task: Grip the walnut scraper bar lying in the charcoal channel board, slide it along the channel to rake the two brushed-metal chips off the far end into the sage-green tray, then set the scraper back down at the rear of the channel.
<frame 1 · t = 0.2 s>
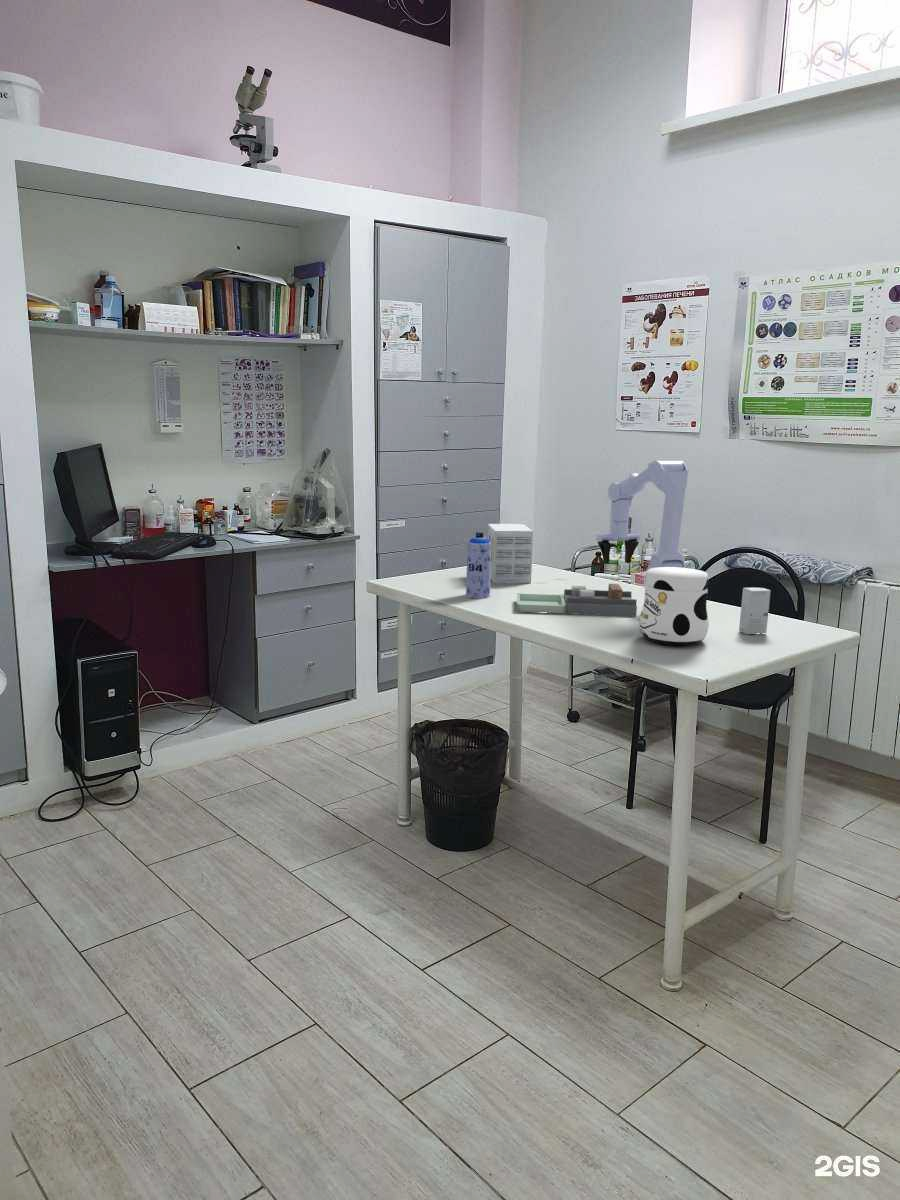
hand: (616, 563, 290), 10 cm above the table, tool pointing down, fingers open, 7 cm apart
chip far: (578, 592, 271), point 4 cm above the table, touching channel board
aerosol can: (477, 596, 285), on the table
supplement box: (508, 579, 314), on the table
milk container: (672, 641, 235), on the table
skincare box: (752, 633, 245), on the table
chip tray: (540, 607, 270), on the table
chip near: (586, 595, 266), point 4 cm above the table, touching channel board
scraper bar: (614, 599, 268), point 3 cm above the table, touching channel board
channel board: (598, 609, 269), on the table
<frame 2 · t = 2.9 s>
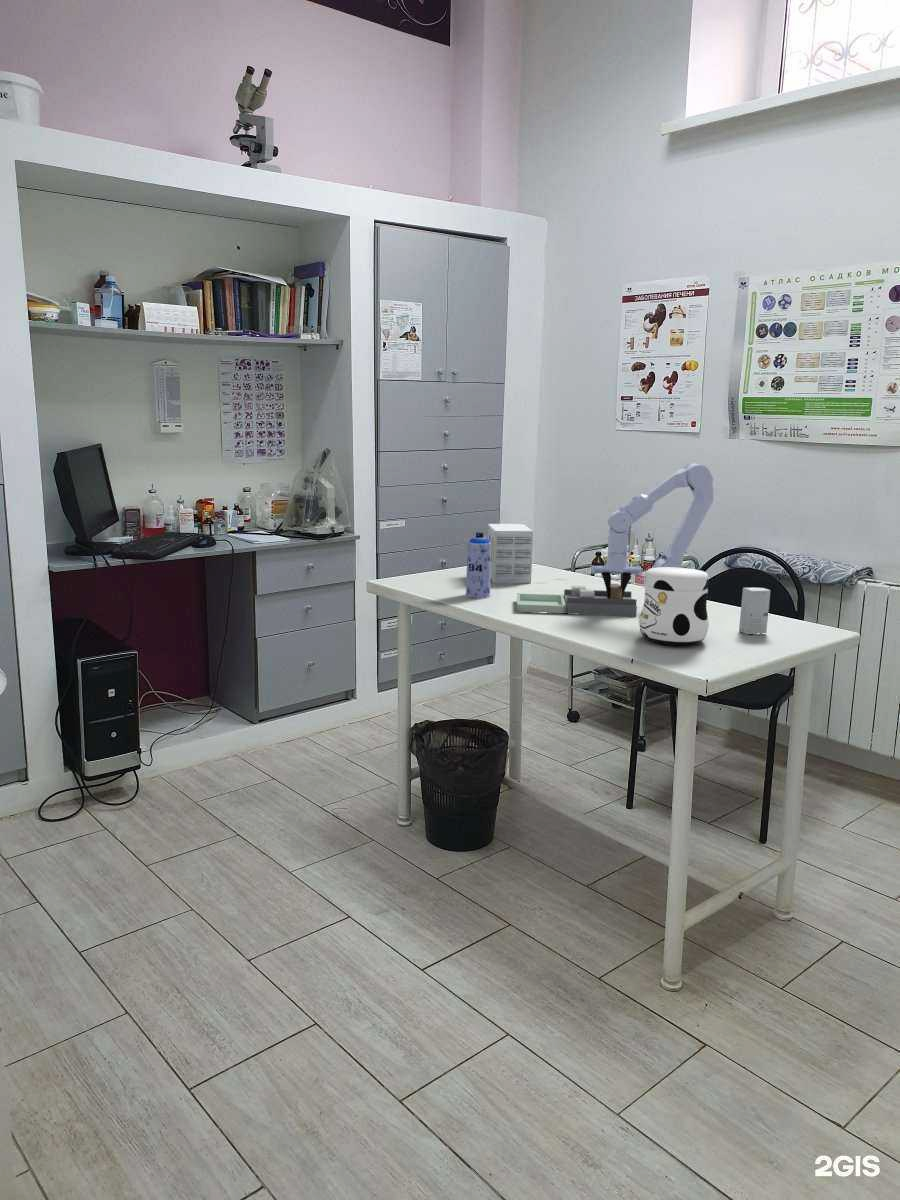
hand: (614, 597, 268), 4 cm above the table, tool pointing down, fingers closed on scraper bar, 3 cm apart
scraper bar: (614, 599, 268), point 3 cm above the table, touching channel board, gripper
everything else where it was.
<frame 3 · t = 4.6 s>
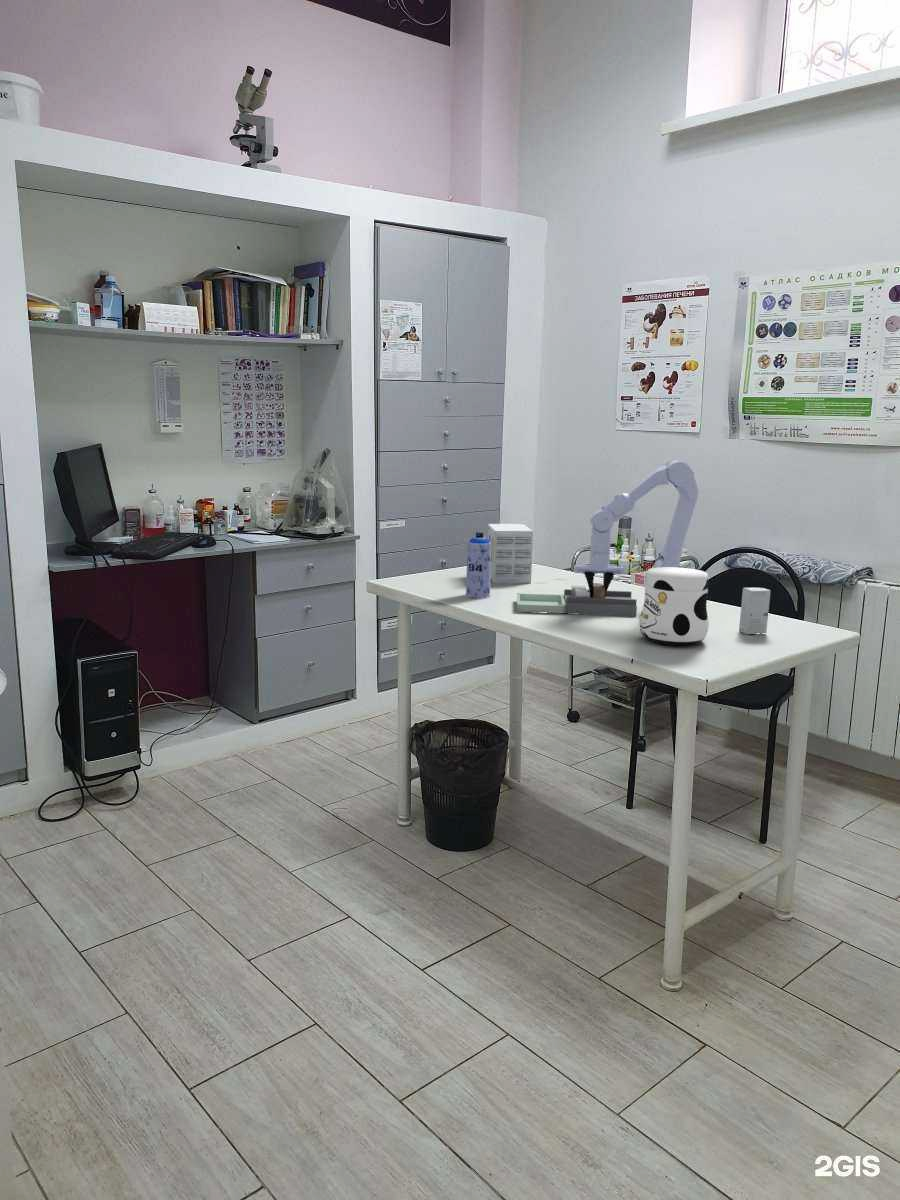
hand: (597, 597, 269), 4 cm above the table, tool pointing down, fingers closed on scraper bar, 3 cm apart
chip near: (582, 595, 266), point 5 cm above the table, touching channel board, gripper
scraper bar: (597, 599, 269), point 3 cm above the table, touching gripper
everything else where it was.
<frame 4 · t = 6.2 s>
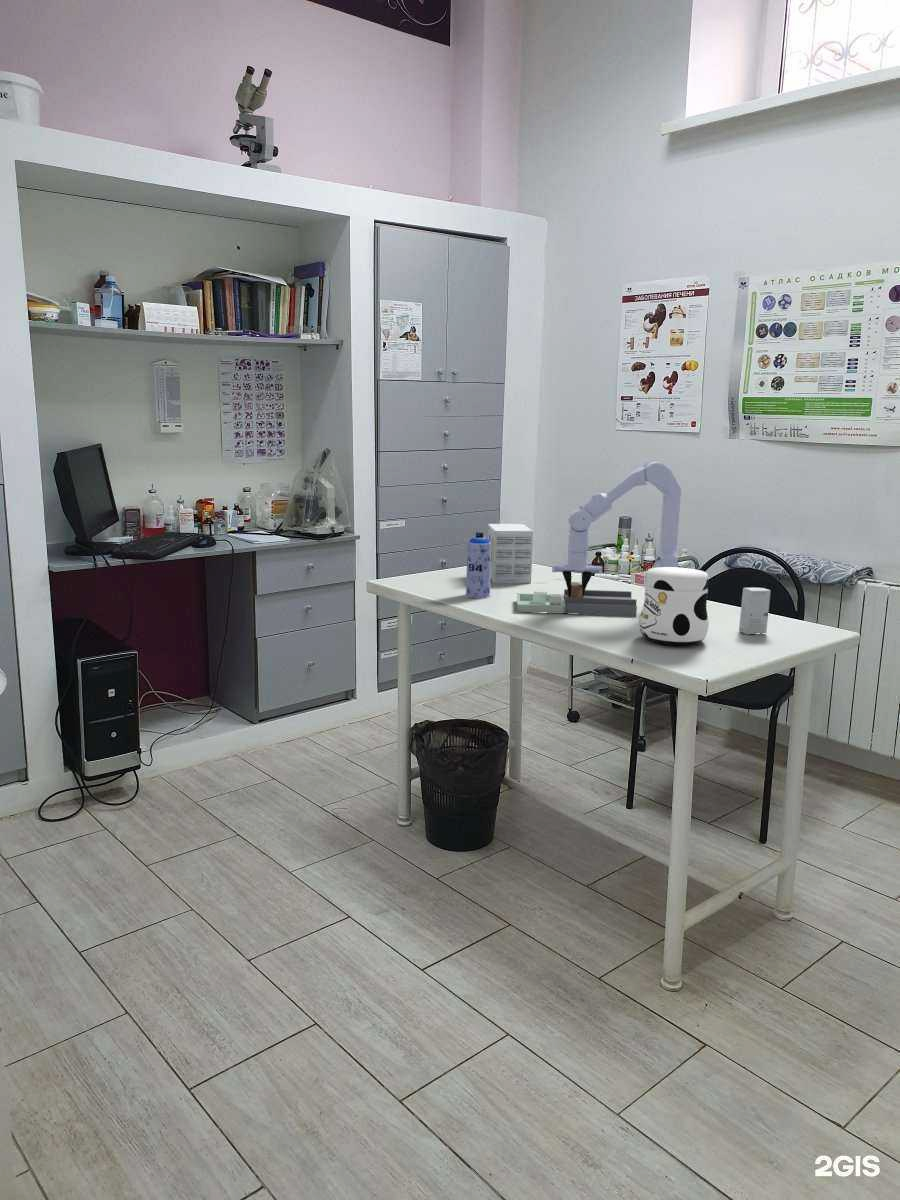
hand: (575, 596, 269), 4 cm above the table, tool pointing down, fingers closed on scraper bar, 3 cm apart
chip far: (539, 598, 274), point 2 cm above the table, tilted 180°, touching chip tray
chip near: (554, 602, 266), point 2 cm above the table, tilted 90°, touching chip tray
scraper bar: (575, 598, 269), point 3 cm above the table, touching gripper
everything else where it was.
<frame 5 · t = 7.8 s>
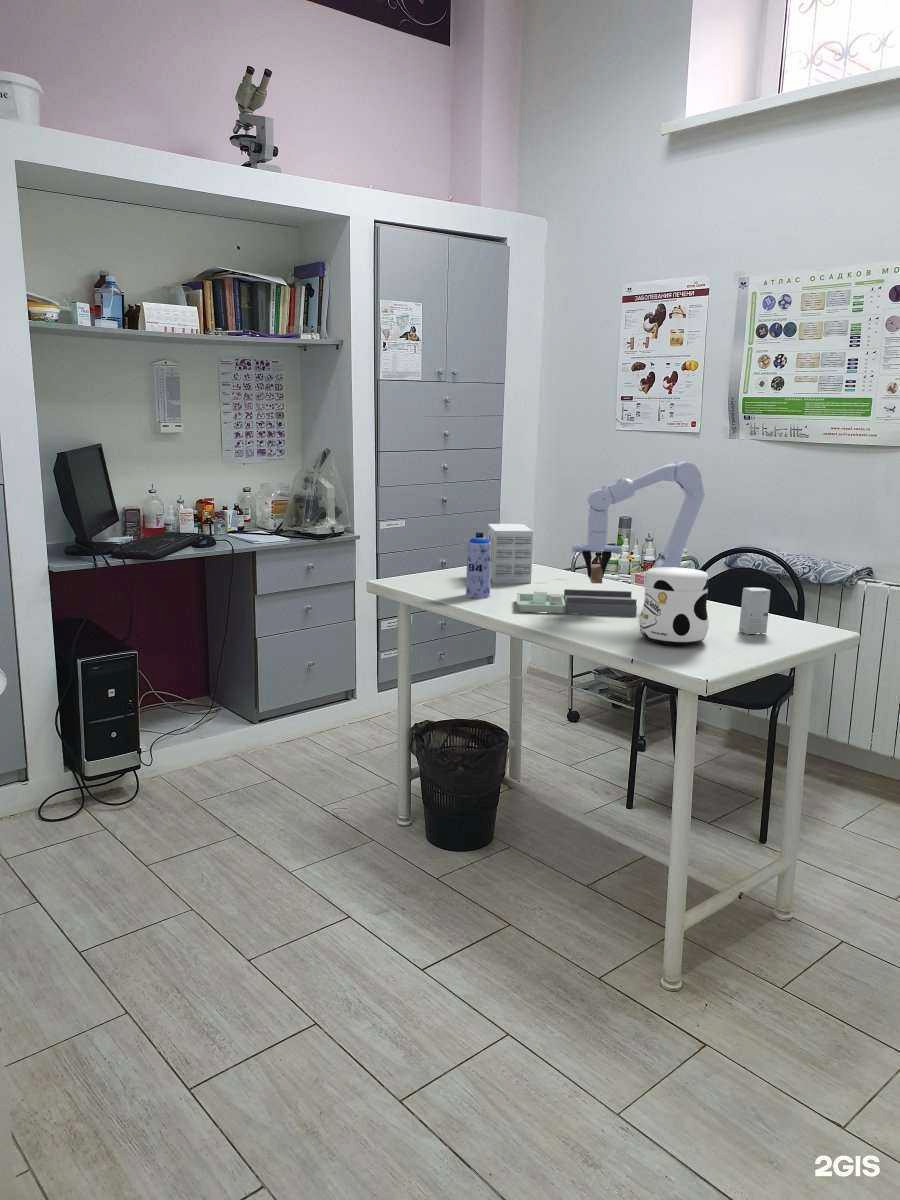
hand: (595, 576, 267), 10 cm above the table, tool pointing down, fingers closed on scraper bar, 3 cm apart
scraper bar: (595, 580, 267), point 9 cm above the table, touching gripper
everything else where it was.
when the fingers open (5 cm above the table, at t = 9.7 s): scraper bar stays where it is, resting on channel board.
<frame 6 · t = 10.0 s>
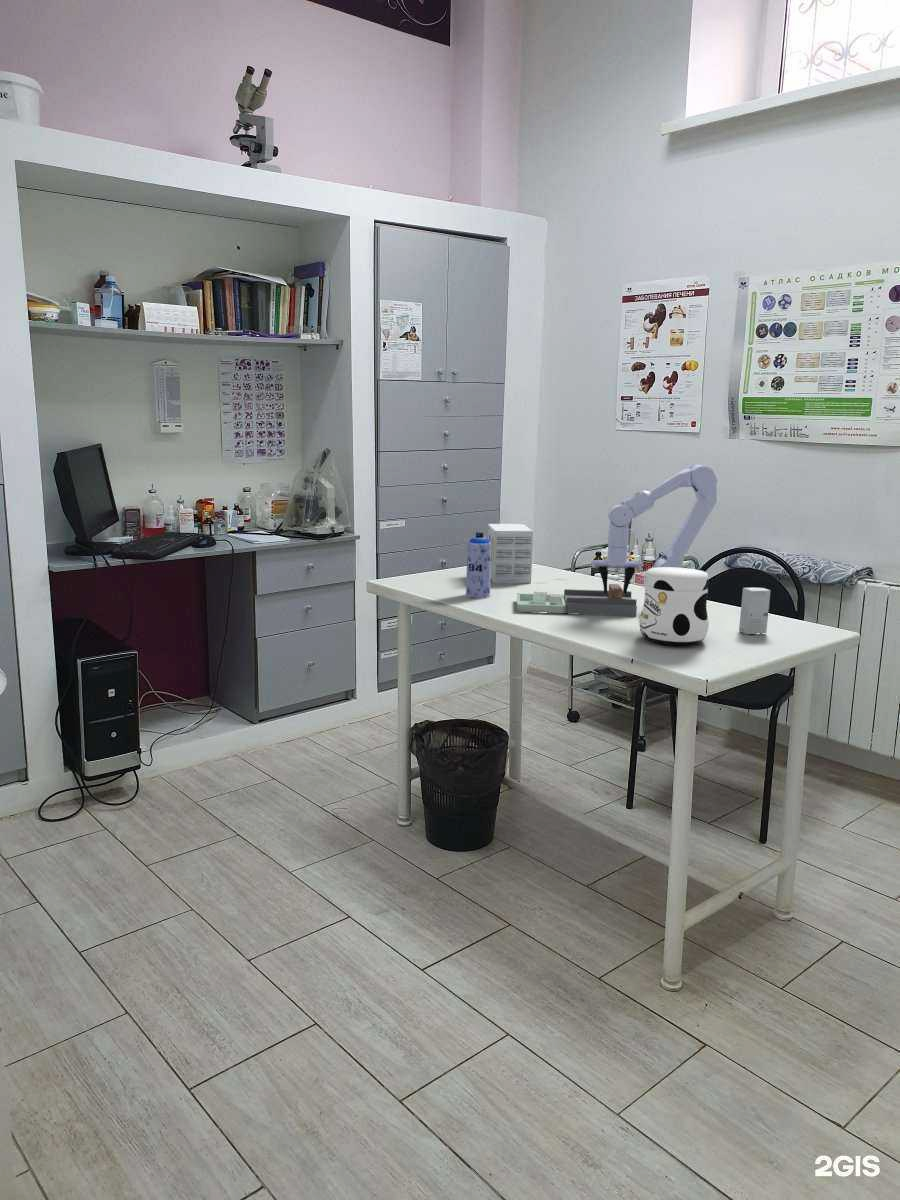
hand: (615, 592, 268), 5 cm above the table, tool pointing down, fingers open, 5 cm apart
scraper bar: (614, 600, 268), point 3 cm above the table, touching channel board
everything else where it was.
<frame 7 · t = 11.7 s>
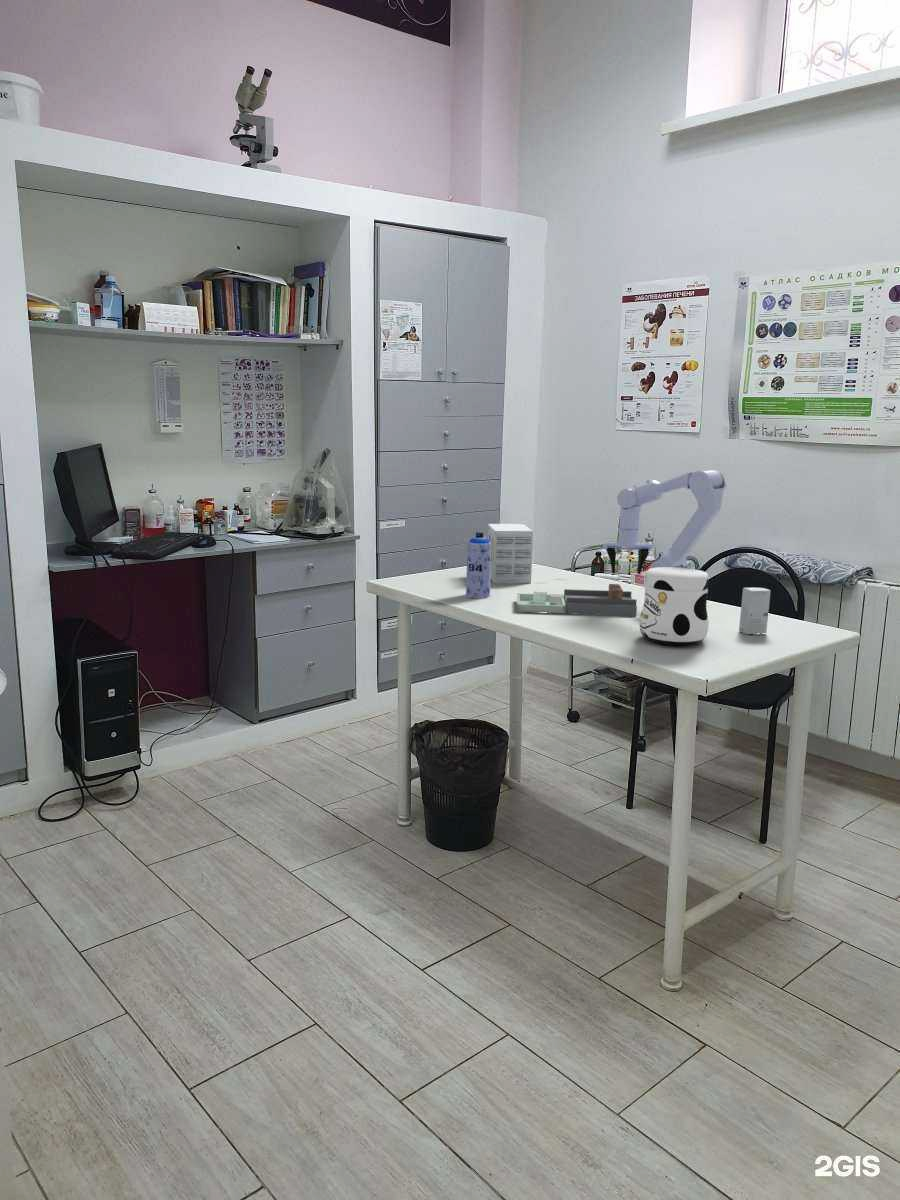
hand: (626, 573, 276), 10 cm above the table, tool pointing down, fingers open, 7 cm apart
nothing on the table moved.
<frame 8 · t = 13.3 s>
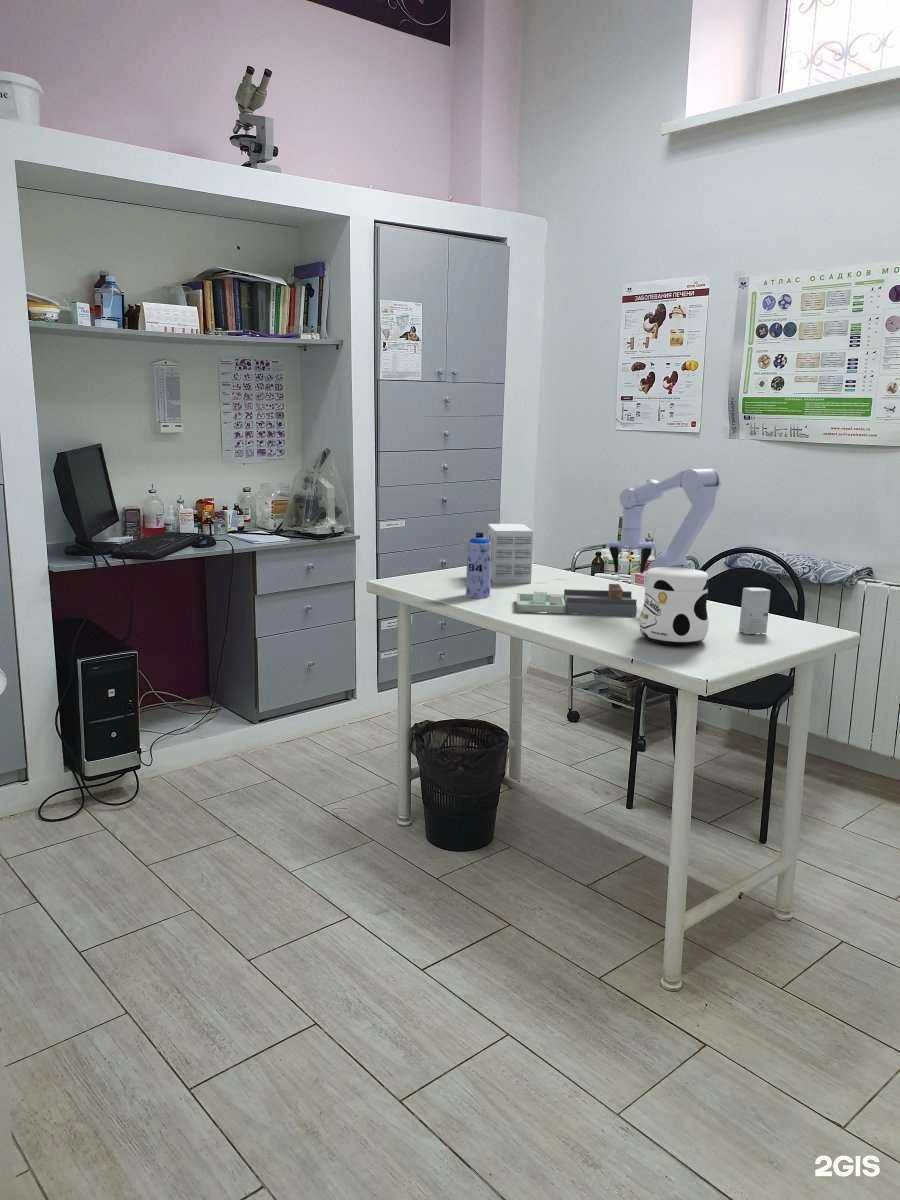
hand: (628, 572, 278), 9 cm above the table, tool pointing down, fingers open, 7 cm apart
nothing on the table moved.
at the end: chip near inside the target area on the chip tray (5.4 cm from its centre), point 2.5 cm above the chip tray's base; chip far inside the target area on the chip tray (3.8 cm from its centre), point 2.0 cm above the chip tray's base; scraper bar inside the target area on the channel board (0.7 cm from its centre), point 3.0 cm above the channel board's base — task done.
